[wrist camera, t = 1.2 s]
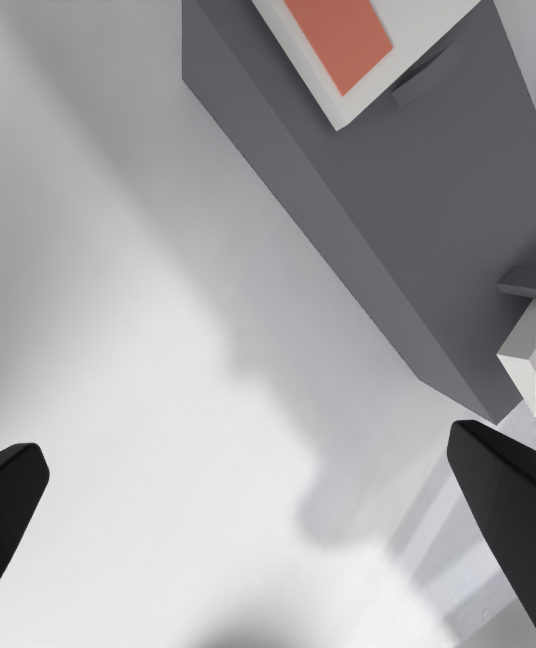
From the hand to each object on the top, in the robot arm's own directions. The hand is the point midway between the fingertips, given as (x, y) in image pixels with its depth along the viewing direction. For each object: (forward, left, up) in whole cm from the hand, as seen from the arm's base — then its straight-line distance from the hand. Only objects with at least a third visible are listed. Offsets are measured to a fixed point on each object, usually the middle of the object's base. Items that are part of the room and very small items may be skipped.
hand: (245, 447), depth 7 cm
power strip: (+12, -2, -12) cm, 17 cm away
